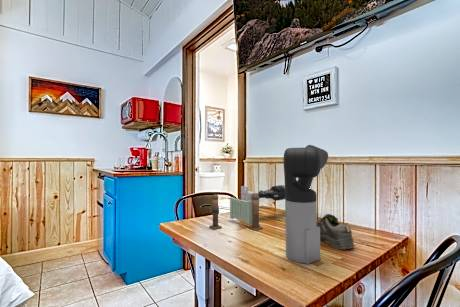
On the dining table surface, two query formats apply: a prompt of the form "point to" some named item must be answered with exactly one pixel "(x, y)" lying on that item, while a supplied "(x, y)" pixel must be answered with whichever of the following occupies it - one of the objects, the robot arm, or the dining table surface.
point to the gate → (241, 210)
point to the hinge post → (255, 212)
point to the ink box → (246, 194)
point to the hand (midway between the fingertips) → (255, 196)
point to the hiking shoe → (335, 232)
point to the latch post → (215, 213)
